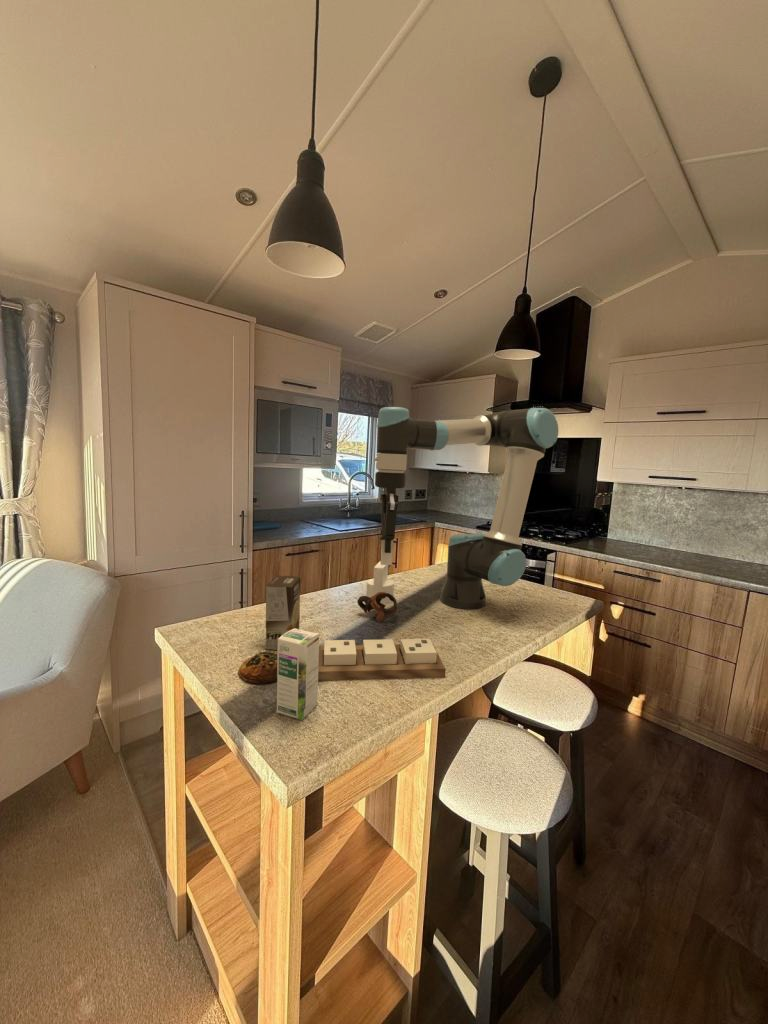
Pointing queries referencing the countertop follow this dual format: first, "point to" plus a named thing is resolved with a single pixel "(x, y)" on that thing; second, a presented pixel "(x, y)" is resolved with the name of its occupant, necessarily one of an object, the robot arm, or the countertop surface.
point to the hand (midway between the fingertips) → (386, 564)
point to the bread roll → (260, 668)
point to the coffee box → (281, 608)
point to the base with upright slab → (380, 583)
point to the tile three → (418, 651)
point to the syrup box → (297, 673)
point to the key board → (379, 668)
